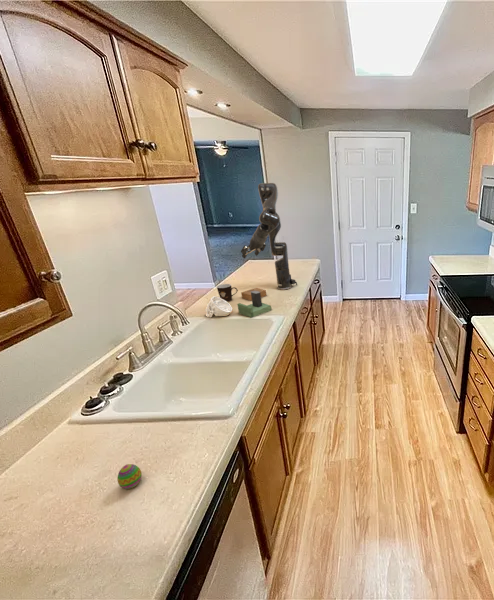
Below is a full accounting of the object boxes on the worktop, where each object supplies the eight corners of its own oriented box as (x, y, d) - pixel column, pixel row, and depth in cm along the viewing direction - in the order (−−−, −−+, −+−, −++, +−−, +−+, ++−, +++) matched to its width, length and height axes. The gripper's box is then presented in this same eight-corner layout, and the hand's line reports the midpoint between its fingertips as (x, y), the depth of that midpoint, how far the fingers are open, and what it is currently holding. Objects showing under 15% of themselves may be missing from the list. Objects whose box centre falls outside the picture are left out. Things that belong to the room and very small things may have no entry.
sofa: (258, 306, 206) (257, 297, 203) (271, 310, 199) (270, 300, 197) (238, 313, 195) (237, 303, 193) (251, 317, 188) (249, 308, 186)
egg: (138, 489, 84) (131, 472, 82) (116, 493, 83) (109, 475, 81) (146, 474, 89) (141, 457, 87) (126, 477, 88) (120, 460, 86)
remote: (257, 304, 200) (254, 290, 197) (262, 306, 197) (260, 291, 194) (252, 305, 198) (250, 291, 194) (258, 307, 195) (255, 293, 192)
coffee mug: (216, 301, 213) (213, 287, 209) (226, 297, 220) (224, 283, 217) (229, 304, 209) (227, 289, 205) (240, 299, 216) (237, 285, 213)
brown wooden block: (257, 293, 229) (256, 287, 227) (266, 295, 223) (265, 290, 222) (242, 298, 219) (241, 292, 218) (251, 300, 214) (250, 295, 213)
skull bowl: (208, 309, 197) (215, 292, 193) (229, 321, 199) (237, 305, 195) (197, 315, 187) (205, 298, 183) (220, 328, 189) (228, 311, 185)
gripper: (265, 232, 196) (256, 249, 206) (244, 235, 185) (235, 253, 195) (272, 241, 196) (262, 258, 206) (251, 245, 184) (242, 263, 194)
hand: (249, 255), depth 200 cm, fingers open, 8 cm apart
